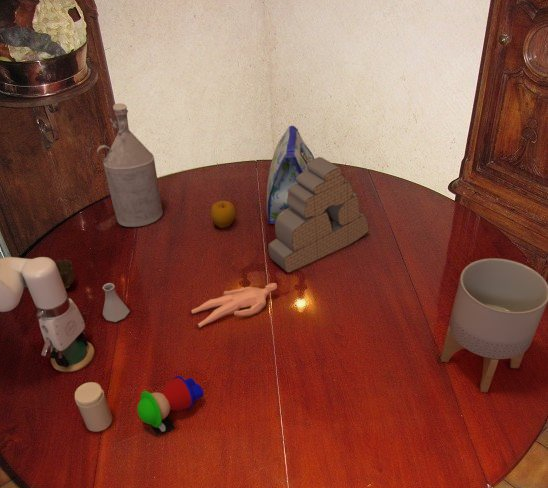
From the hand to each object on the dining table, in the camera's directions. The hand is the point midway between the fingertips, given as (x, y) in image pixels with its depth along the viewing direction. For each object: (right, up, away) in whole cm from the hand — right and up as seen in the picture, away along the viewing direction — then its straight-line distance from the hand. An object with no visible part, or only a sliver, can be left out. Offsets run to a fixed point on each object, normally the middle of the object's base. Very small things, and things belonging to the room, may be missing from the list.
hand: (73, 354), depth 146 cm
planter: (+104, -2, -5) cm, 104 cm away
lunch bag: (+59, +46, +51) cm, 90 cm away
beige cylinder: (+12, -14, -15) cm, 24 cm away
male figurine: (+42, +12, +13) cm, 45 cm away
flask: (+8, +10, +12) cm, 18 cm away
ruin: (+67, +31, +34) cm, 81 cm away
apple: (+36, +39, +44) cm, 69 cm away
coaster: (0, 0, 0) cm, 1 cm away
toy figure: (+28, -12, -14) cm, 34 cm away
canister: (+6, +43, +49) cm, 65 cm away
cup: (-10, +18, +22) cm, 30 cm away
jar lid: (0, +1, -1) cm, 1 cm away
